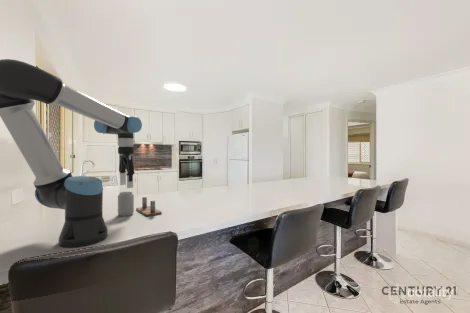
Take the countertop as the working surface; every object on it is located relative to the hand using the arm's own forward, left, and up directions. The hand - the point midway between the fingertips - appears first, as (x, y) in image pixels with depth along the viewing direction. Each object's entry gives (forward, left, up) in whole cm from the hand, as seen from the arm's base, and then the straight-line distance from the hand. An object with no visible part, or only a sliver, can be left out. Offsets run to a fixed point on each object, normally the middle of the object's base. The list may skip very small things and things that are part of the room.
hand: (126, 186), depth 115 cm
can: (0, 0, -15) cm, 15 cm away
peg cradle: (-3, -11, -15) cm, 19 cm away
